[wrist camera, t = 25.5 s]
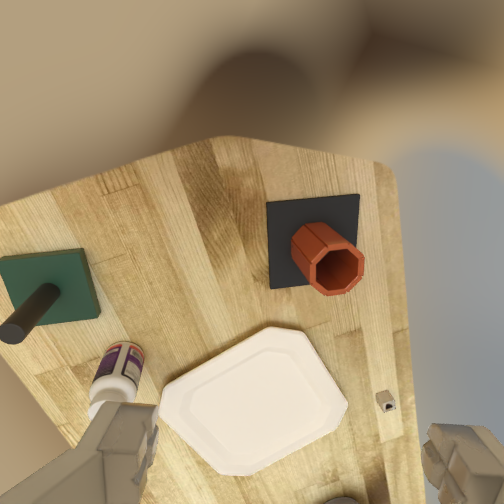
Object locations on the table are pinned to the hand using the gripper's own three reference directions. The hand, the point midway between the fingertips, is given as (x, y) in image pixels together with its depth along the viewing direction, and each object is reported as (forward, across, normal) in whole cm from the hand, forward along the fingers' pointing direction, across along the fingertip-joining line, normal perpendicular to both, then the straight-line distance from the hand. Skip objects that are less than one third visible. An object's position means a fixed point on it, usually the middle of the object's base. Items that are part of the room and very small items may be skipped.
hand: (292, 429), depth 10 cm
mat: (+34, -7, +3) cm, 34 cm away
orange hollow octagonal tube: (+33, -7, +3) cm, 34 cm away
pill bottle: (+31, +17, +21) cm, 41 cm away
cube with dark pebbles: (+38, -24, +31) cm, 55 cm away
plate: (+35, -2, +30) cm, 46 cm away
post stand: (+29, +25, +10) cm, 40 cm away
